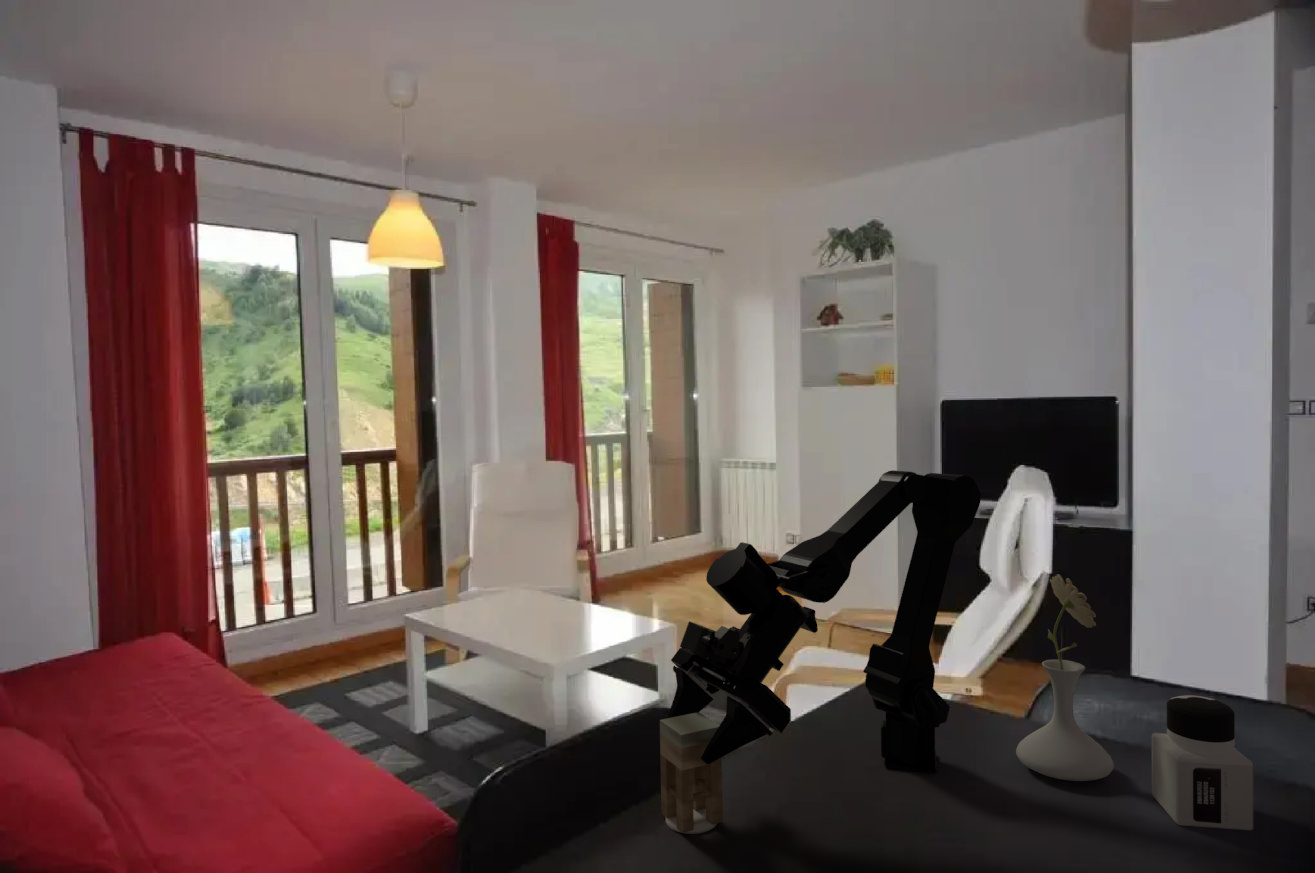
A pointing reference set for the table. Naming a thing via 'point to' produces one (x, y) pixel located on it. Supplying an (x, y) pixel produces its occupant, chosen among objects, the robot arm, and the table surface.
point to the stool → (689, 770)
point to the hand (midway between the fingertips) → (684, 747)
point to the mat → (699, 823)
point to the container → (1202, 766)
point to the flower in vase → (1065, 710)
